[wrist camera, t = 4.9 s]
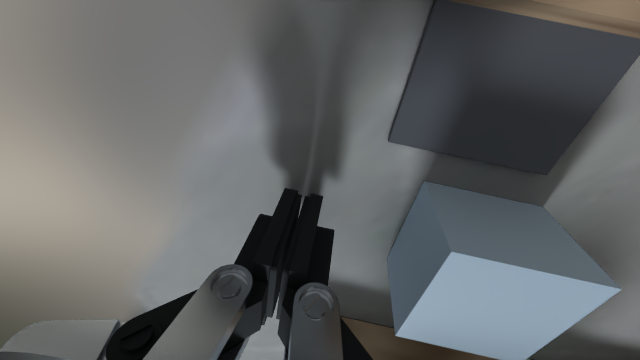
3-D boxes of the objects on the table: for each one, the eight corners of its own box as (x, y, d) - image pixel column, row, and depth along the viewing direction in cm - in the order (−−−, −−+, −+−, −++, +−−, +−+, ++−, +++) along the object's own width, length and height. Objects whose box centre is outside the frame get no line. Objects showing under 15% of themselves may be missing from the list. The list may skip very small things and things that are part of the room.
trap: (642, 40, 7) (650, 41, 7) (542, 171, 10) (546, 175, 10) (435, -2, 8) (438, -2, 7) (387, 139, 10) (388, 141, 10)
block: (540, 204, 11) (622, 289, 7) (479, 278, 14) (519, 364, 10) (423, 179, 11) (451, 251, 8) (386, 257, 14) (395, 335, 10)
